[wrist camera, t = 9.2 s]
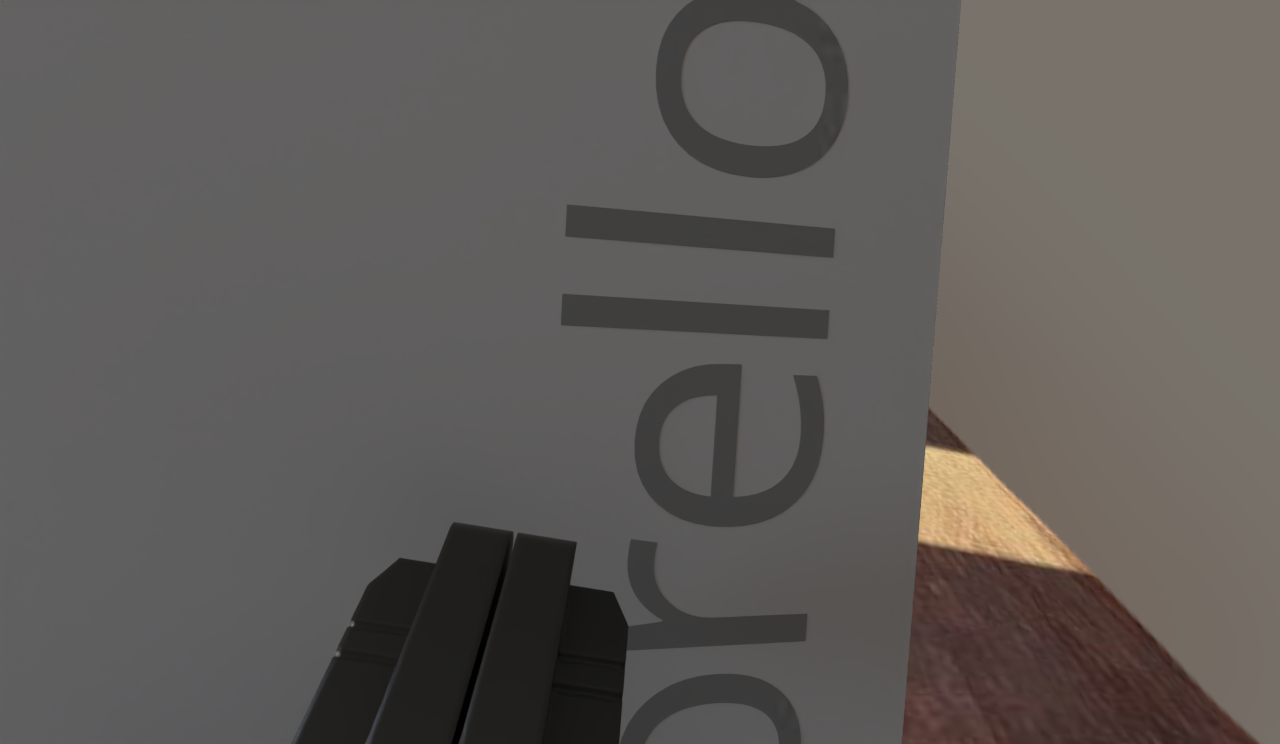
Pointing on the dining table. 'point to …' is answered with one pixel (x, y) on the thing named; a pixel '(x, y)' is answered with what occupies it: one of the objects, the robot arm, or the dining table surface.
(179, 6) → the brochure
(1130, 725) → the dining table surface
